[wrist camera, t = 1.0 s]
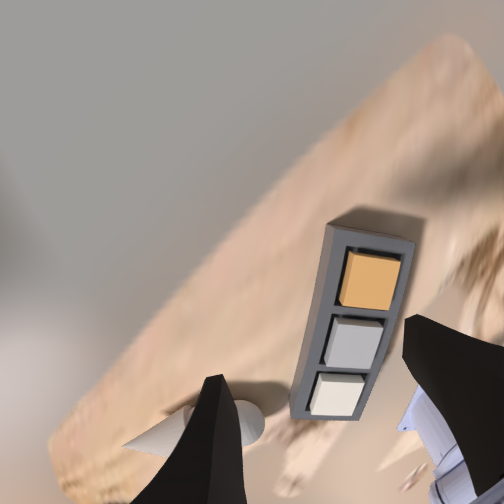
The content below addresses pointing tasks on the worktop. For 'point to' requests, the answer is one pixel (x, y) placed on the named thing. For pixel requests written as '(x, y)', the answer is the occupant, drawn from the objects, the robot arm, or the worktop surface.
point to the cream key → (336, 394)
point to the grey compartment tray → (345, 314)
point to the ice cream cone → (170, 429)
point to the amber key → (369, 281)
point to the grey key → (353, 343)
